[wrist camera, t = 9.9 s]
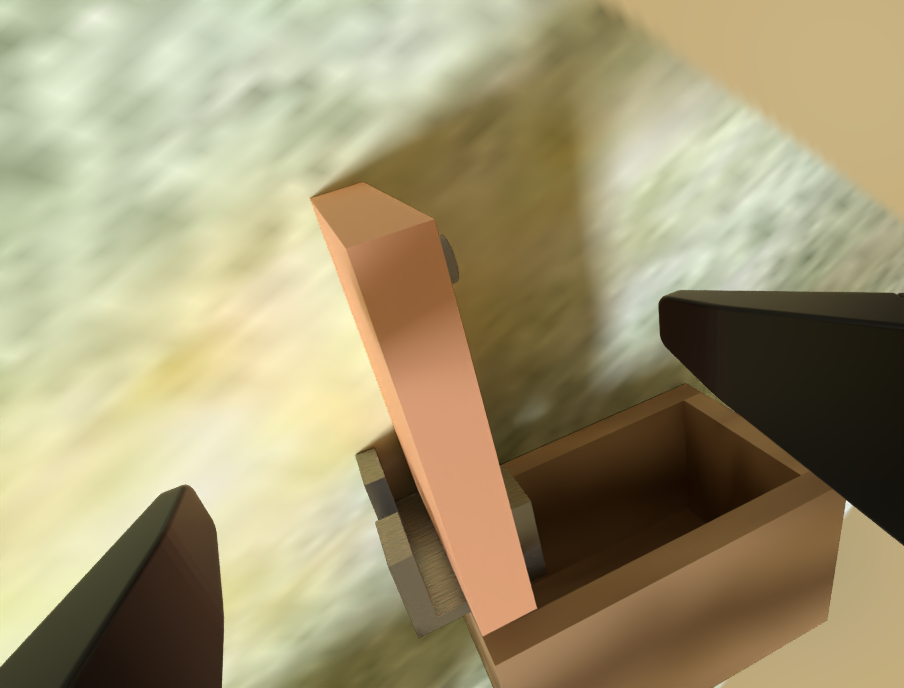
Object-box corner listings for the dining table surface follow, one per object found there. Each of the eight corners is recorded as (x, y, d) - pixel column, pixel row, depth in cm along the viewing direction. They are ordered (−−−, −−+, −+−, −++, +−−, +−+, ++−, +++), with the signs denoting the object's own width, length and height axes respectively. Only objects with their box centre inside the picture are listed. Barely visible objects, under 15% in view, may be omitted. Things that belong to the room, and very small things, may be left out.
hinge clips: (481, 473, 23) (547, 574, 18) (381, 517, 22) (418, 637, 17) (464, 410, 22) (530, 500, 16) (355, 455, 21) (388, 566, 15)
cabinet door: (462, 453, 22) (554, 599, 15) (411, 475, 22) (482, 636, 15) (379, 176, 17) (463, 209, 10) (309, 197, 17) (346, 248, 10)
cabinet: (689, 501, 29) (826, 620, 22) (462, 614, 26) (536, 791, 19) (686, 383, 25) (849, 480, 18) (421, 499, 22) (495, 666, 16)
